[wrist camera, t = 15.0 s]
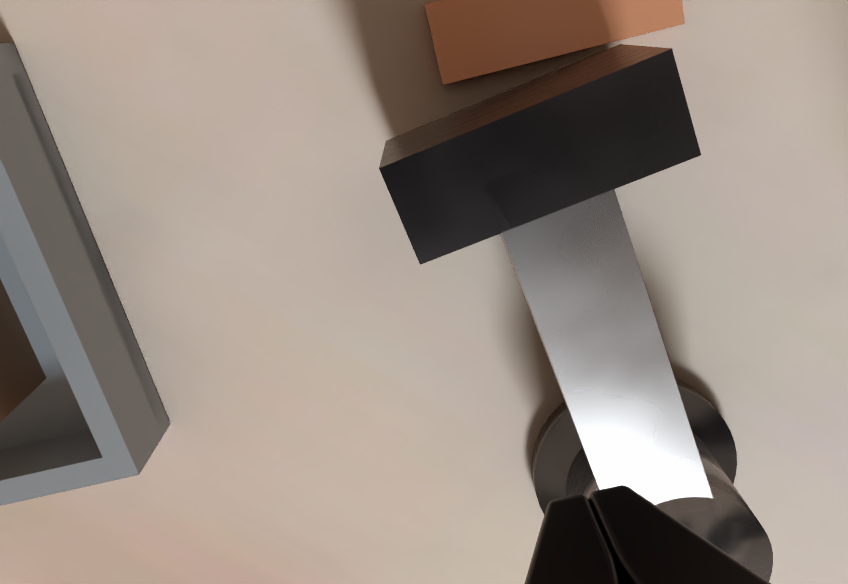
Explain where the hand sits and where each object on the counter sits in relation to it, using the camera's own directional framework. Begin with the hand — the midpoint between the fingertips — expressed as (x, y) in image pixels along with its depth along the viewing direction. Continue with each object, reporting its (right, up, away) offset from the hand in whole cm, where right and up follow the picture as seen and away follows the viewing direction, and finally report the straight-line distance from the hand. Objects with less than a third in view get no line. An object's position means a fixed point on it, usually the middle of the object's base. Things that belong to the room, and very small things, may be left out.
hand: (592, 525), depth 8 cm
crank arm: (+2, +1, +9) cm, 9 cm away
